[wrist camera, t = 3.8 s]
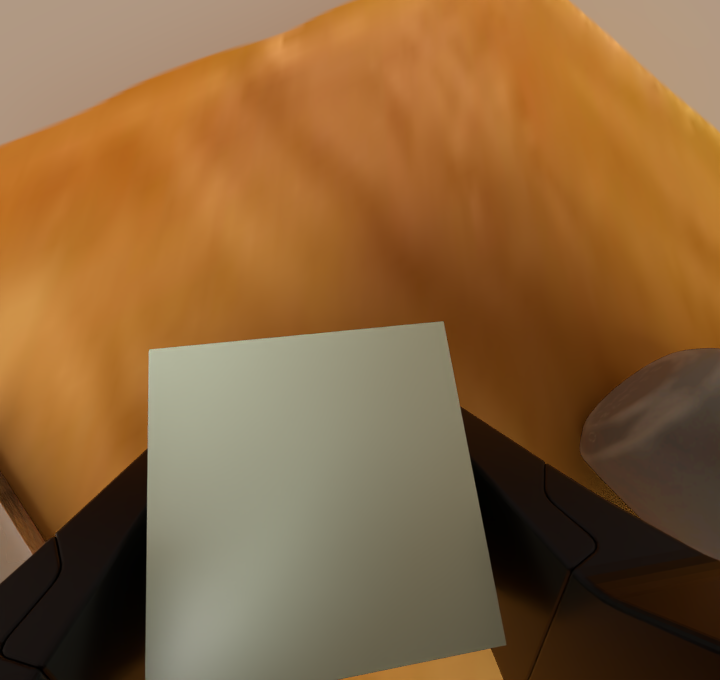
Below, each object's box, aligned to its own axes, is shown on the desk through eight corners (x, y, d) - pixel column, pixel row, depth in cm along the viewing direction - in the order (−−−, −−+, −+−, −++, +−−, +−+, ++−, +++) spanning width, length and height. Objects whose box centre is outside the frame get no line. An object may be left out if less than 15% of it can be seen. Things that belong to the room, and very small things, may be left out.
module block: (386, 522, 15) (506, 645, 5) (263, 542, 14) (144, 719, 5) (370, 401, 16) (443, 321, 6) (255, 415, 15) (148, 349, 6)
